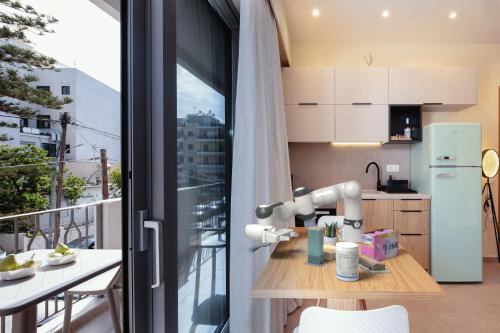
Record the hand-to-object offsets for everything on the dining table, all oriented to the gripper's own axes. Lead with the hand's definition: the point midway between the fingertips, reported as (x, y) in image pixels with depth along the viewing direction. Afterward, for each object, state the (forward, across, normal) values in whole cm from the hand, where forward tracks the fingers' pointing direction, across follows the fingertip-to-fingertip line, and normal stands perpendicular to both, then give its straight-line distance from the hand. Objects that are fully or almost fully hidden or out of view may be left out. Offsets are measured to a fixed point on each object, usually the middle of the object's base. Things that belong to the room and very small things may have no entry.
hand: (293, 236), depth 166 cm
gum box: (+35, -31, -13) cm, 48 cm away
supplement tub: (+31, +11, -12) cm, 35 cm away
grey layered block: (+36, -9, -13) cm, 39 cm away
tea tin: (+12, 0, -11) cm, 16 cm away
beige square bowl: (+12, -13, -12) cm, 21 cm away
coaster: (+12, 0, -12) cm, 17 cm away
